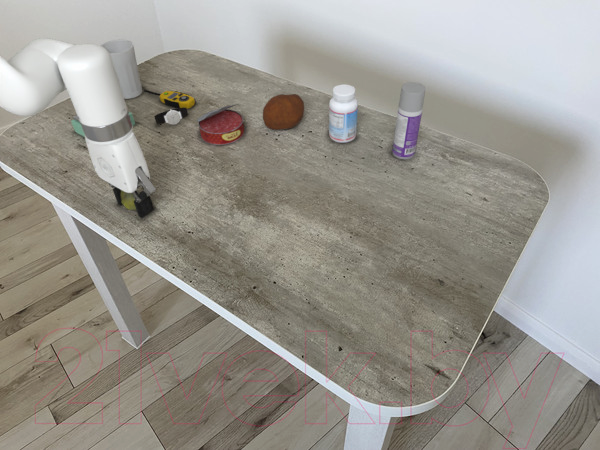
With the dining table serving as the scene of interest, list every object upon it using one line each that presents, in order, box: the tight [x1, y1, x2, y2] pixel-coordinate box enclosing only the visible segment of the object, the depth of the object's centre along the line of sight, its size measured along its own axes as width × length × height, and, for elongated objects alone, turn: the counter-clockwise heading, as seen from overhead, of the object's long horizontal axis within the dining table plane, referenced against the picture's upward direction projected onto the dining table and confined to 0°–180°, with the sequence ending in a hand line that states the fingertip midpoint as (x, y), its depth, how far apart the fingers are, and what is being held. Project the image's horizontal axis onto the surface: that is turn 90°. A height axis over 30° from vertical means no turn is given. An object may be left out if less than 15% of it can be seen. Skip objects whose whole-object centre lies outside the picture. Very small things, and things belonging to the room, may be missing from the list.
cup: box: [100, 38, 143, 100], centre depth 118 cm, size 8×8×12 cm
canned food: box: [196, 103, 245, 146], centre depth 106 cm, size 11×10×10 cm
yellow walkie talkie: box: [143, 89, 196, 110], centre depth 119 cm, size 5×2×15 cm
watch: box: [154, 108, 189, 125], centre depth 111 cm, size 8×5×4 cm, turn 118°
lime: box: [121, 191, 137, 211], centre depth 89 cm, size 4×5×5 cm
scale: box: [70, 111, 136, 138], centre depth 110 cm, size 10×9×3 cm
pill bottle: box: [328, 83, 359, 144], centre depth 102 cm, size 6×6×11 cm
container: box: [391, 81, 426, 160], centre depth 96 cm, size 5×5×15 cm
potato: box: [262, 93, 305, 131], centre depth 107 cm, size 8×11×8 cm
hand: (136, 206), depth 91 cm, fingers closed on lime, 5 cm apart
